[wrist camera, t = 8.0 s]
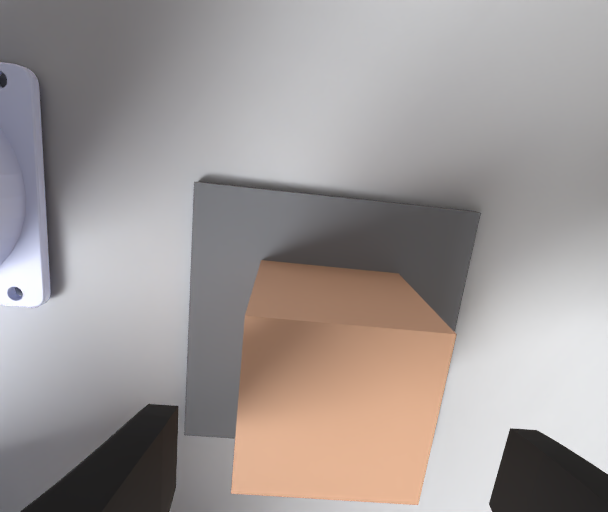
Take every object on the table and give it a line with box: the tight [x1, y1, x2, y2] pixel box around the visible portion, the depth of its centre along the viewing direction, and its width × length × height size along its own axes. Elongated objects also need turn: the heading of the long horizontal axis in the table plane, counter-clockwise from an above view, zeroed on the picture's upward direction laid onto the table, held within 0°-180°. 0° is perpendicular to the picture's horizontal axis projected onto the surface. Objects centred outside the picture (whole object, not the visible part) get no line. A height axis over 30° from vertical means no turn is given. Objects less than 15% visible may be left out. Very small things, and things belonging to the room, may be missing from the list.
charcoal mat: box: [184, 182, 481, 438], centre depth 14 cm, size 10×10×1 cm
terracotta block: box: [231, 260, 456, 505], centre depth 12 cm, size 5×5×5 cm
